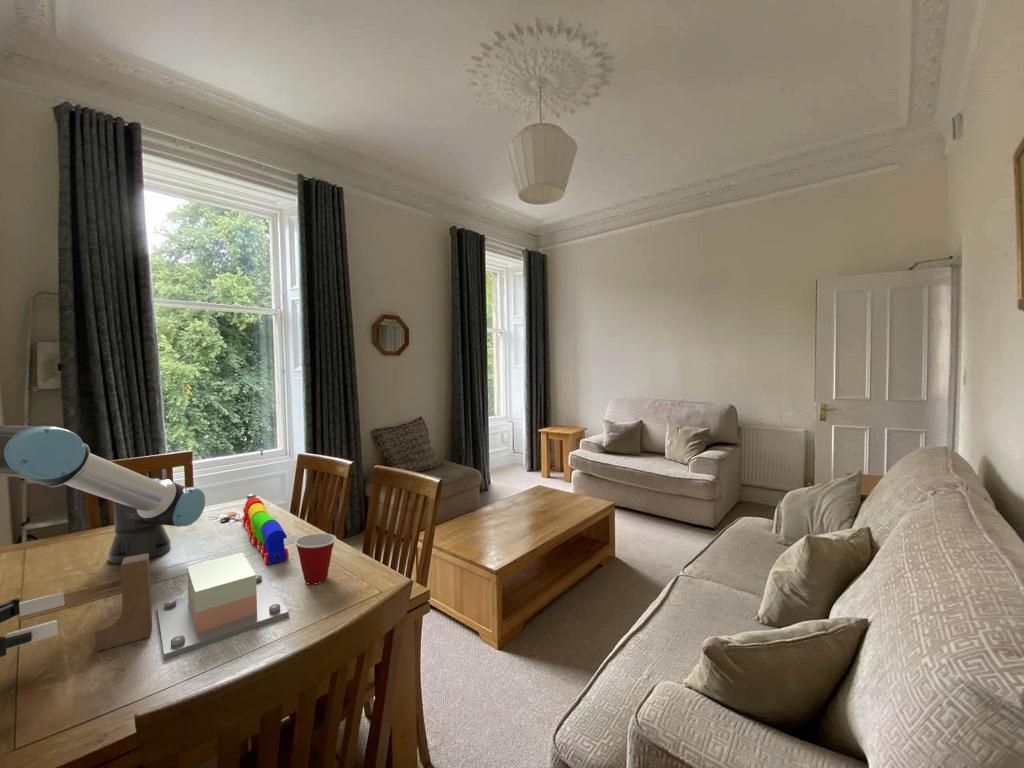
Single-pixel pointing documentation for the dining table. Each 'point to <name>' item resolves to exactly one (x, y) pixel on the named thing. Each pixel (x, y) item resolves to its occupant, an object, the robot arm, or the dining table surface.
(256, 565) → the dining table surface
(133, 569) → the wooden block
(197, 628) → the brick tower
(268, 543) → the toy train
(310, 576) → the plastic cup
